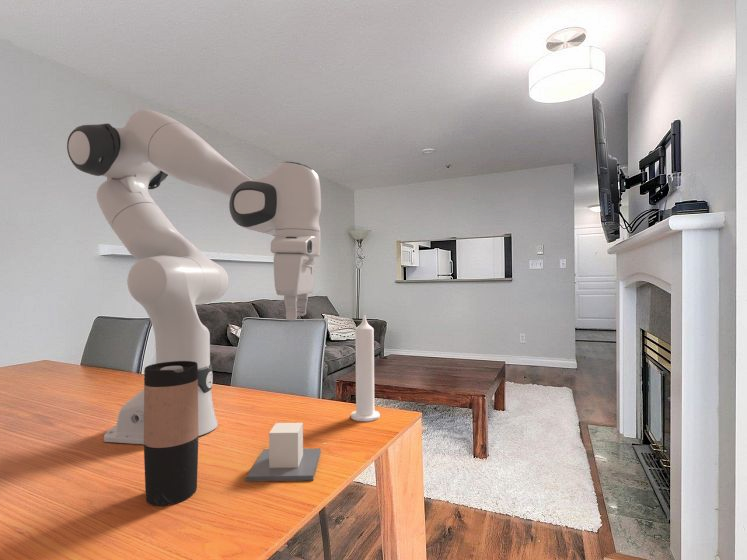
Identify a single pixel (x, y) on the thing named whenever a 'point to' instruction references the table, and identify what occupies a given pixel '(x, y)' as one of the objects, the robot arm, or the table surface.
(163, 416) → the travel mug
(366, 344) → the candle
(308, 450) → the slate plate
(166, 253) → the robot arm
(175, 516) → the table surface
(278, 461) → the cream block
